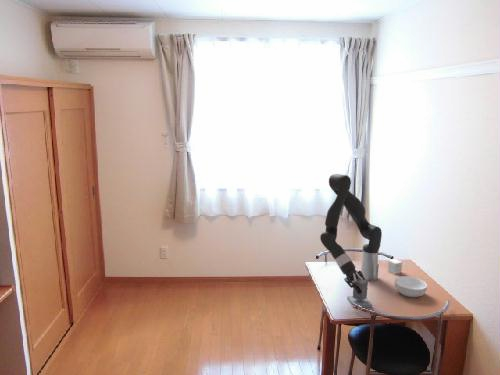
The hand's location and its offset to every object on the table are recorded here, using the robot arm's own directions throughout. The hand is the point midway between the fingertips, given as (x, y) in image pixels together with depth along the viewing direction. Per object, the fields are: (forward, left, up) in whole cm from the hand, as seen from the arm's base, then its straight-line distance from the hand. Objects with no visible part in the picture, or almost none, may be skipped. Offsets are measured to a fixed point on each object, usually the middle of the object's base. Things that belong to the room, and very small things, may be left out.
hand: (363, 291), depth 210 cm
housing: (+1, -1, -4) cm, 5 cm away
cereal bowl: (-31, -10, -7) cm, 33 cm away
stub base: (+1, -1, -7) cm, 7 cm away
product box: (-36, -41, -7) cm, 55 cm away
